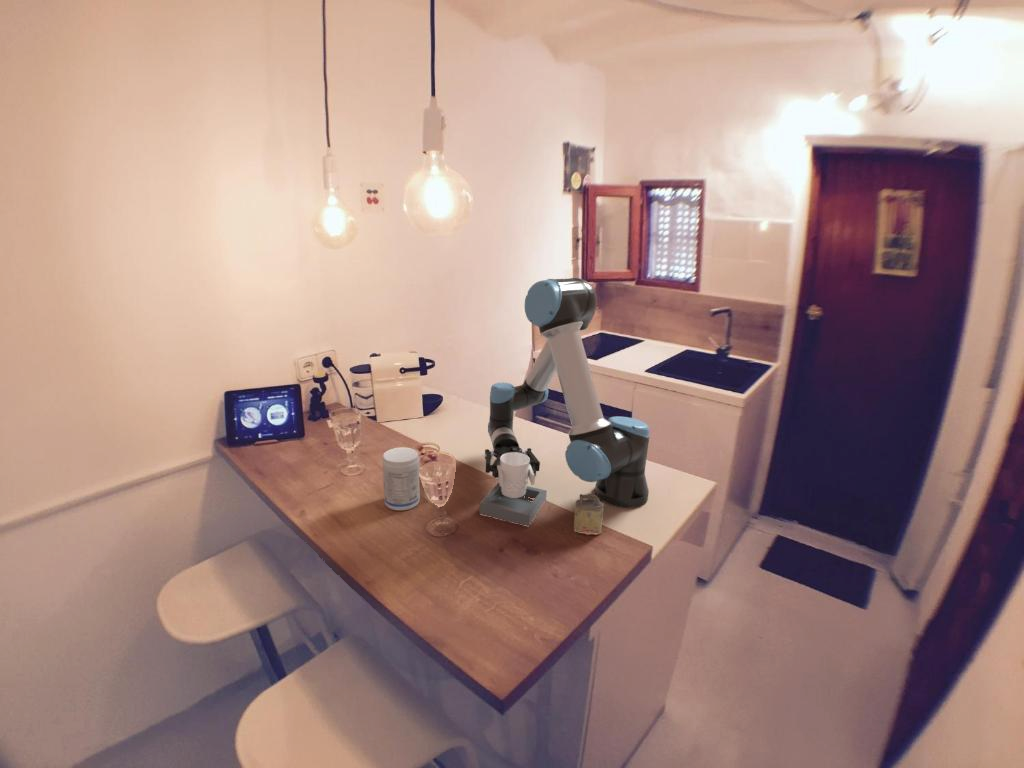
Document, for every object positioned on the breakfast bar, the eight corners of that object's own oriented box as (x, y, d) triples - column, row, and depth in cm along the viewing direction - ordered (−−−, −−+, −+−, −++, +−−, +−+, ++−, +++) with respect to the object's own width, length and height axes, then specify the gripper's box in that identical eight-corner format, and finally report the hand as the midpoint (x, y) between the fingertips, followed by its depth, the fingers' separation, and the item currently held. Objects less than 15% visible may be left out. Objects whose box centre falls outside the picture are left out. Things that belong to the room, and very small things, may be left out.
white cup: (525, 501, 130) (527, 467, 127) (496, 497, 131) (497, 463, 128) (530, 487, 137) (532, 454, 134) (502, 483, 138) (503, 450, 135)
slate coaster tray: (545, 503, 139) (546, 490, 138) (528, 528, 127) (529, 515, 125) (500, 492, 144) (500, 480, 143) (479, 516, 131) (479, 502, 130)
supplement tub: (387, 494, 140) (385, 446, 136) (421, 493, 141) (420, 446, 137) (382, 512, 131) (379, 462, 127) (418, 511, 132) (417, 461, 128)
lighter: (600, 528, 127) (604, 493, 124) (602, 537, 124) (605, 501, 121) (573, 526, 128) (575, 491, 125) (573, 534, 124) (576, 499, 121)
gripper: (537, 454, 152) (555, 492, 130) (470, 456, 149) (477, 495, 127) (538, 431, 150) (557, 466, 128) (471, 433, 146) (478, 469, 125)
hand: (517, 480), depth 128 cm, fingers closed on white cup, 8 cm apart
